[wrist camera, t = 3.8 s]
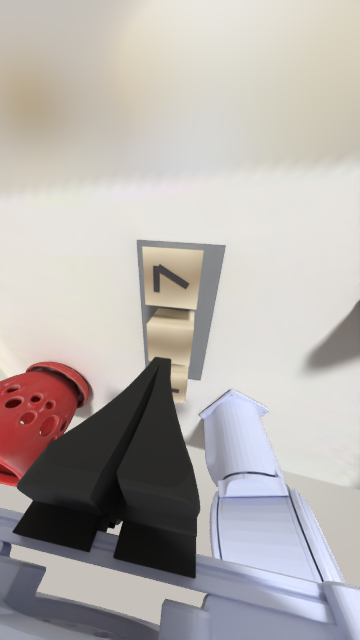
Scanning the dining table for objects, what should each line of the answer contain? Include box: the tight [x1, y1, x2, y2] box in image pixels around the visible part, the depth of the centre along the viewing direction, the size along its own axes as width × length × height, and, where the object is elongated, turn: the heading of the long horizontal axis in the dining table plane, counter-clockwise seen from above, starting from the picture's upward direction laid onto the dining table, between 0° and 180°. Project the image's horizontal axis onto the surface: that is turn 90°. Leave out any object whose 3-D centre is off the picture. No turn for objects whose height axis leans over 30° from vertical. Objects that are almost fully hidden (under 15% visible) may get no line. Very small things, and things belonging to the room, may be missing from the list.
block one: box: [171, 364, 189, 403], centre depth 18 cm, size 4×4×5 cm
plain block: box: [147, 308, 194, 366], centre depth 15 cm, size 4×4×4 cm
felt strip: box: [137, 240, 226, 380], centre depth 18 cm, size 19×9×1 cm, turn 176°
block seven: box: [142, 246, 204, 310], centre depth 12 cm, size 4×4×5 cm
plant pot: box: [0, 362, 89, 487], centre depth 20 cm, size 13×13×12 cm
